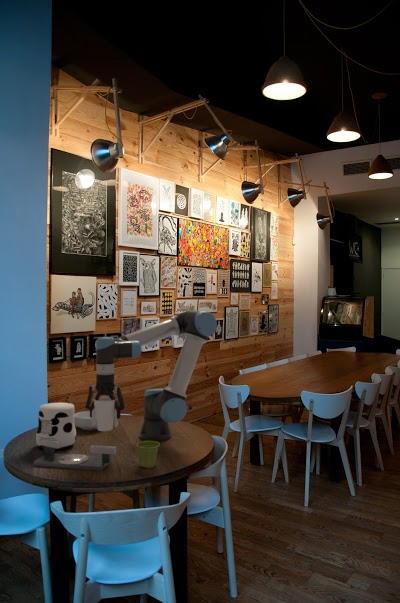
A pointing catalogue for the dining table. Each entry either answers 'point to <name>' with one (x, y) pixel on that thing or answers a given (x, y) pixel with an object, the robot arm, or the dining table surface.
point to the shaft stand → (74, 457)
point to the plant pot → (148, 453)
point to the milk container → (57, 423)
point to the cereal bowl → (84, 421)
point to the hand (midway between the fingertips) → (105, 425)
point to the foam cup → (104, 413)
